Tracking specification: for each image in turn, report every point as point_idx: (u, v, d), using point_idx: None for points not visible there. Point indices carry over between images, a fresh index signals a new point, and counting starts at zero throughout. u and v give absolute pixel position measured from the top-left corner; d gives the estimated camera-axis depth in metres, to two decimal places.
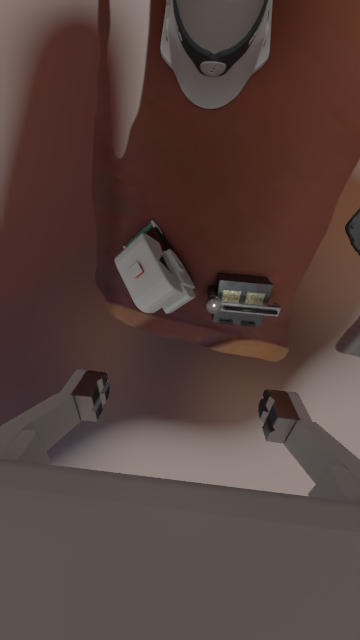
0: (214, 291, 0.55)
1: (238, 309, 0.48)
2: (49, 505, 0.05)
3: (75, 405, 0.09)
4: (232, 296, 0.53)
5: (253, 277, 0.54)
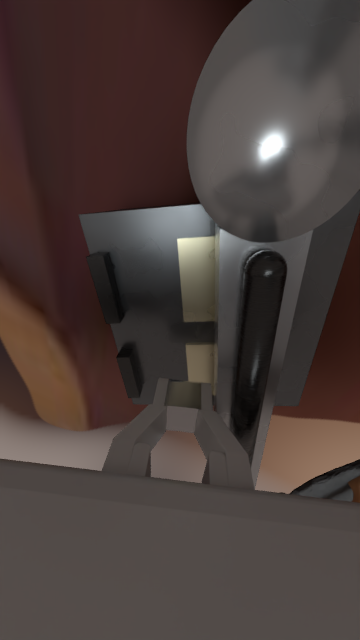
0: None
1: (262, 378, 0.06)
2: (49, 505, 0.05)
3: (166, 415, 0.09)
4: None
5: None
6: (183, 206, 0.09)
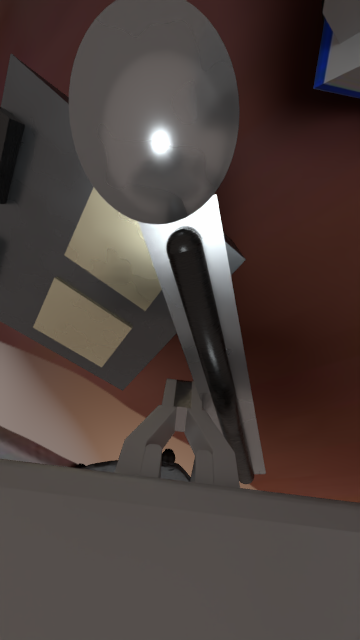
0: None
1: (215, 349, 0.07)
2: (49, 505, 0.05)
3: (175, 416, 0.09)
4: (140, 270, 0.11)
5: None
6: None
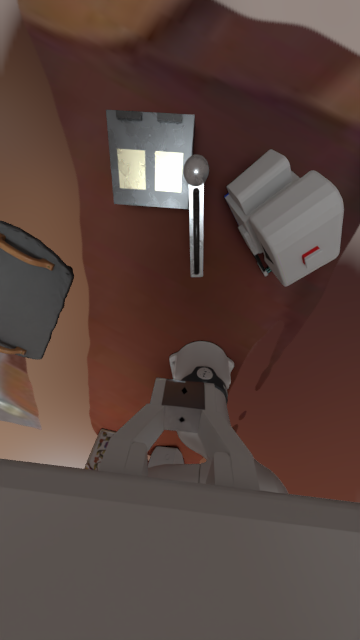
0: None
1: (197, 216, 0.31)
2: (49, 505, 0.05)
3: (163, 415, 0.09)
4: (166, 180, 0.34)
5: None
6: None
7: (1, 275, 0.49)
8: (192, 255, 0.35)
